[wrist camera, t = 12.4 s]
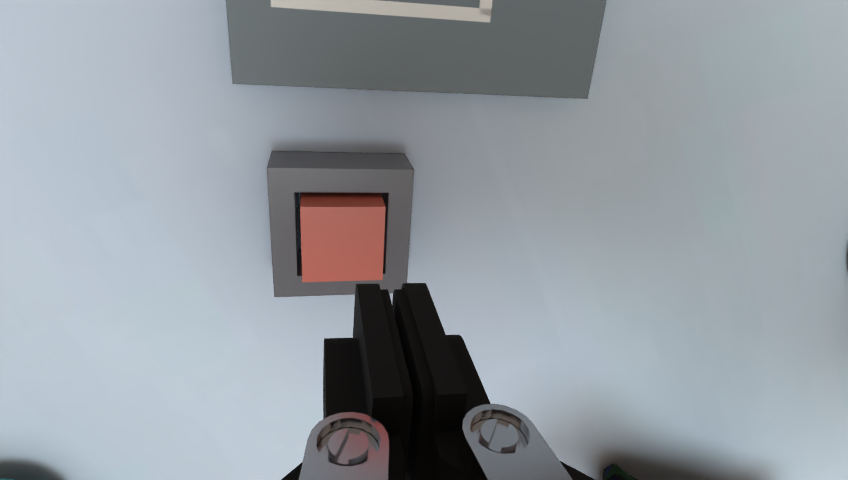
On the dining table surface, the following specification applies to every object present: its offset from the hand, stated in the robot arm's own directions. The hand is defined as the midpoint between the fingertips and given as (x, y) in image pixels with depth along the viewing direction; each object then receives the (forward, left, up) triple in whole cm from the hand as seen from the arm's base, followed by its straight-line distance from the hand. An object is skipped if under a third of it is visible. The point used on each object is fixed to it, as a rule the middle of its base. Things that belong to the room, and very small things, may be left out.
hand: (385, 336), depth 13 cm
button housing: (0, +4, -17) cm, 17 cm away
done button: (0, +4, -16) cm, 16 cm away
